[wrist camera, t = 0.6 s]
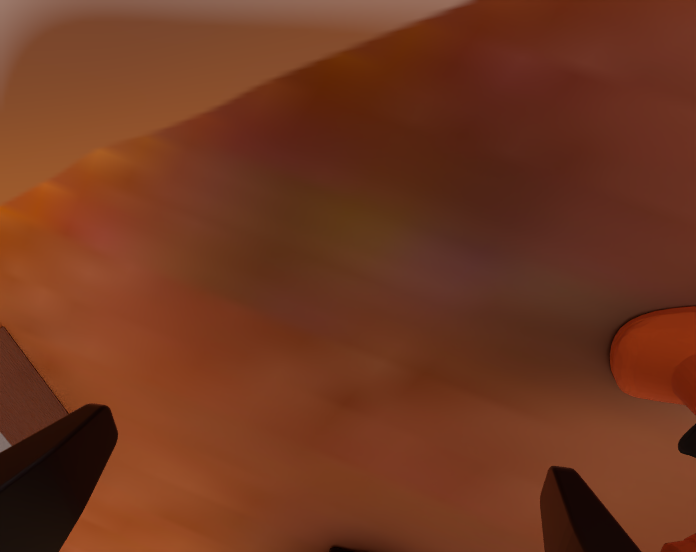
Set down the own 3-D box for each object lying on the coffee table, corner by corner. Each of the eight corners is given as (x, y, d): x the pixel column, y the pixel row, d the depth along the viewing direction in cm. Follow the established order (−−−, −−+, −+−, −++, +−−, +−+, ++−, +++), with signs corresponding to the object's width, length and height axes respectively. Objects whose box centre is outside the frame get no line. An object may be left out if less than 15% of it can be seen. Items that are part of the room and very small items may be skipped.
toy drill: (377, 344, 24) (389, 716, 10) (779, 287, 22) (1484, 658, 8) (392, 420, 26) (418, 819, 12) (763, 374, 24) (1312, 795, 10)
